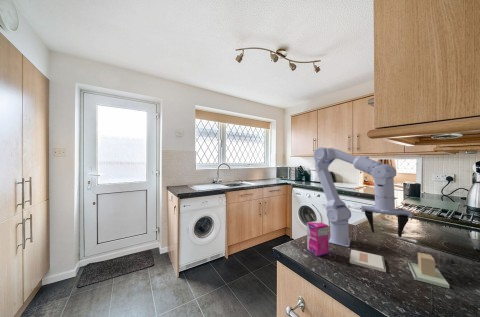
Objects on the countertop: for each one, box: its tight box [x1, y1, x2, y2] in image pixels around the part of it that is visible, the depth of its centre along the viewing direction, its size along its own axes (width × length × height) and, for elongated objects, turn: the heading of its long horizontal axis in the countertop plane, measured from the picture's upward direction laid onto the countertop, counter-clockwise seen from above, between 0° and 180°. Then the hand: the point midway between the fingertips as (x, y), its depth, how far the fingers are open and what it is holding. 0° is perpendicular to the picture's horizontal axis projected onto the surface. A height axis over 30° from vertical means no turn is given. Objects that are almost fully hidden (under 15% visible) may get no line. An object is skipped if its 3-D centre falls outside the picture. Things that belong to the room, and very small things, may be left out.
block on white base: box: [407, 251, 450, 289], centre depth 56 cm, size 10×7×6 cm
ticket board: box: [349, 249, 387, 273], centre depth 65 cm, size 10×10×1 cm
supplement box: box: [306, 220, 330, 257], centre depth 72 cm, size 6×6×12 cm
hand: (385, 233), depth 66 cm, fingers open, 7 cm apart
